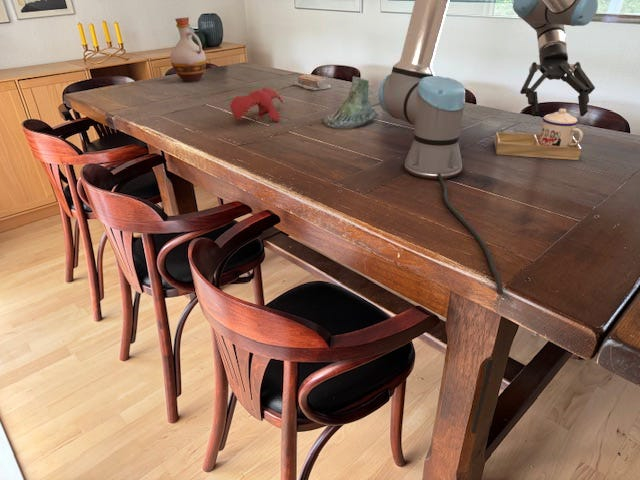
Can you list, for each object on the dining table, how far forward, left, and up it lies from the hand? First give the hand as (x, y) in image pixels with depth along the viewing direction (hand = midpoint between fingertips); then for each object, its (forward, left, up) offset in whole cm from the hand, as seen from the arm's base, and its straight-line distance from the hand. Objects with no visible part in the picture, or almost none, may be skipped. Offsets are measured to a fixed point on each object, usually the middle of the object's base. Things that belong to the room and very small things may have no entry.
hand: (559, 114), depth 130 cm
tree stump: (+18, +65, -11) cm, 69 cm away
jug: (+76, +162, -11) cm, 180 cm away
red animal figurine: (+13, +97, -11) cm, 99 cm away
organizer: (-2, +5, -11) cm, 12 cm away
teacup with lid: (-2, -1, -10) cm, 10 cm away
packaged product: (+73, +96, -11) cm, 121 cm away
